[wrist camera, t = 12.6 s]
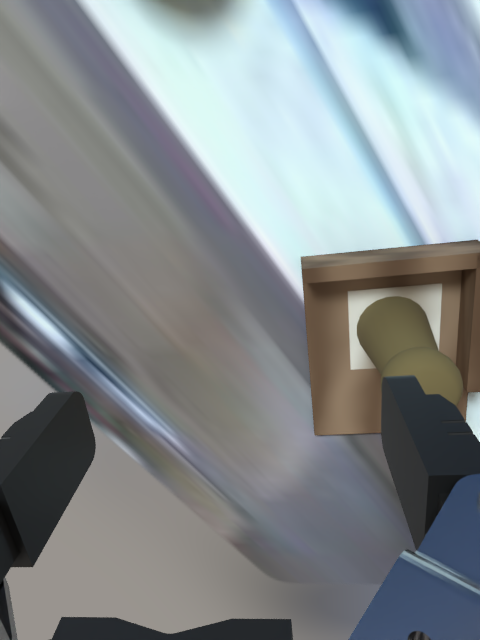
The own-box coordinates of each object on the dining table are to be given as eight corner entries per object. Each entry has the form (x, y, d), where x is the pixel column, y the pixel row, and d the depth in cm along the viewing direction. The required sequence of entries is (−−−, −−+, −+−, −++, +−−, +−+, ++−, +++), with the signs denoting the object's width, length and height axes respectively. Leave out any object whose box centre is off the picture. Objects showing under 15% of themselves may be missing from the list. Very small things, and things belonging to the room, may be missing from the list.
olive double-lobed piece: (351, 355, 40) (372, 432, 30) (362, 292, 38) (389, 353, 28) (419, 362, 40) (464, 442, 30) (435, 299, 37) (489, 363, 27)
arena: (314, 431, 45) (316, 455, 41) (300, 257, 38) (301, 269, 34) (462, 425, 43) (476, 449, 39) (476, 239, 36) (495, 251, 32)
